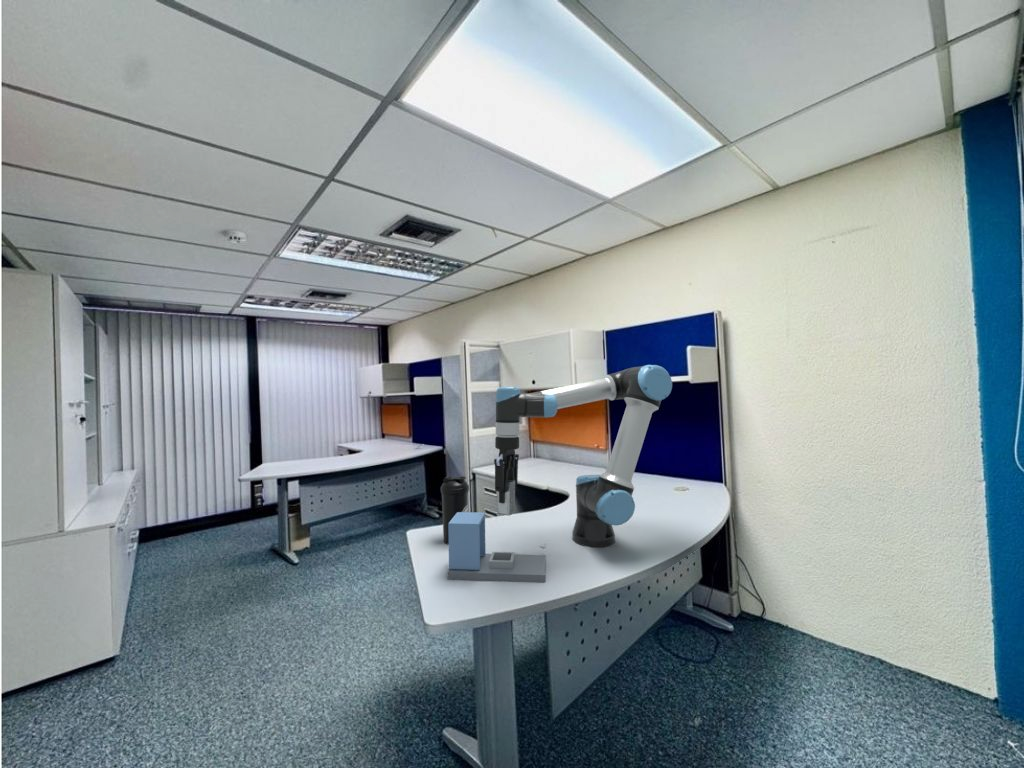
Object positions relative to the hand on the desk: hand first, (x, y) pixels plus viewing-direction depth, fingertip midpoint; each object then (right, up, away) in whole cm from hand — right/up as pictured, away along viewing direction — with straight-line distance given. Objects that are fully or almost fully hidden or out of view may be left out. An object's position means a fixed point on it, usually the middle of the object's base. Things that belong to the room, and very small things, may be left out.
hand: (506, 511), depth 124 cm
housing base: (-2, -17, -4) cm, 17 cm away
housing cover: (-12, -15, -3) cm, 19 cm away
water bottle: (-19, -18, +21) cm, 33 cm away
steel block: (0, -1, 0) cm, 1 cm away
